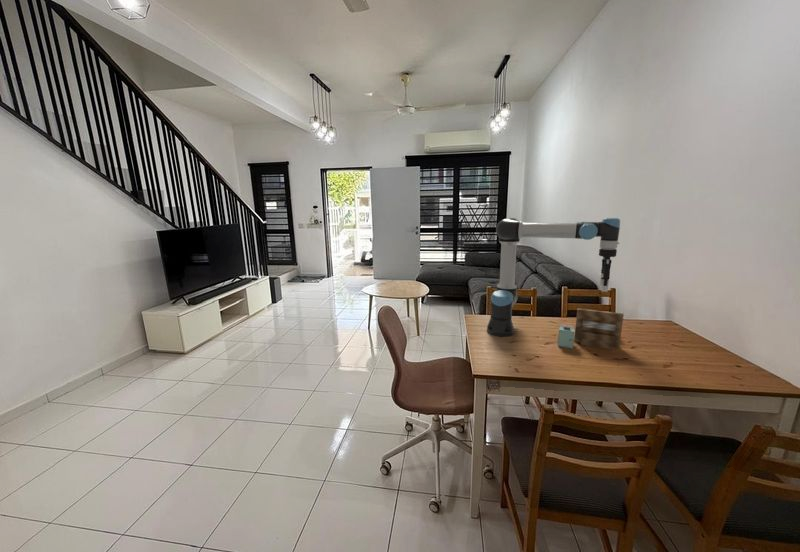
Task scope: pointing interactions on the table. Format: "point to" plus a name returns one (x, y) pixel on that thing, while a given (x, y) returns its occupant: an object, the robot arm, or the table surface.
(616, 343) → the wall board
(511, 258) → the robot arm
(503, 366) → the table surface
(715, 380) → the table surface
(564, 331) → the cabinet
